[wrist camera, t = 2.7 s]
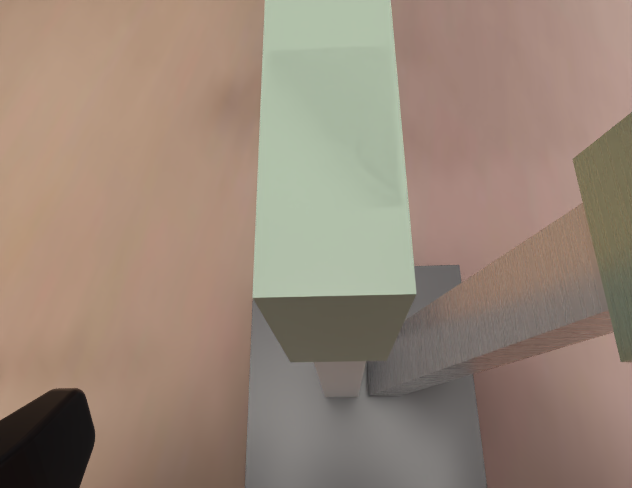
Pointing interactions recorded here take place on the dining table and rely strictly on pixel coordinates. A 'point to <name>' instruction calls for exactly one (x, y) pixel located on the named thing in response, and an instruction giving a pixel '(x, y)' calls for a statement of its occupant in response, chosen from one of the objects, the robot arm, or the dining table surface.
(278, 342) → the stand
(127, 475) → the dining table surface
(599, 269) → the swinging tong arm
